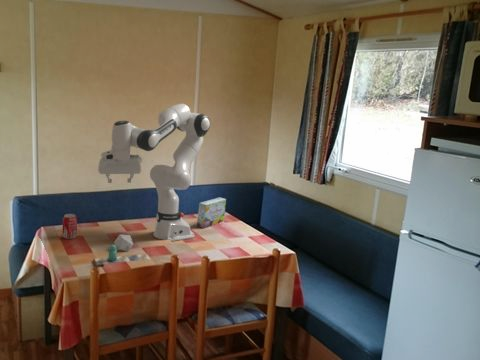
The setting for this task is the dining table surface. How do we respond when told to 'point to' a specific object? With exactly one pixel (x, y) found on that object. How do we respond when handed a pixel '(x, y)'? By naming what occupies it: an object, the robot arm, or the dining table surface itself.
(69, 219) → the soda can
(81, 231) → the dining table surface
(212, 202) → the snack box
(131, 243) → the die
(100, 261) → the track
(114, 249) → the pawn
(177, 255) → the dining table surface
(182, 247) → the dining table surface
